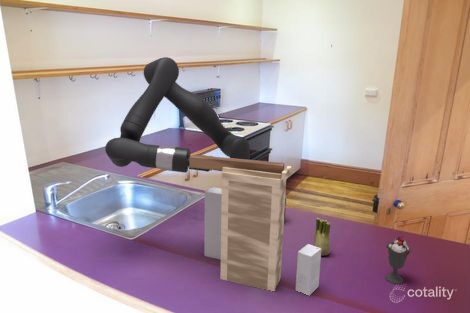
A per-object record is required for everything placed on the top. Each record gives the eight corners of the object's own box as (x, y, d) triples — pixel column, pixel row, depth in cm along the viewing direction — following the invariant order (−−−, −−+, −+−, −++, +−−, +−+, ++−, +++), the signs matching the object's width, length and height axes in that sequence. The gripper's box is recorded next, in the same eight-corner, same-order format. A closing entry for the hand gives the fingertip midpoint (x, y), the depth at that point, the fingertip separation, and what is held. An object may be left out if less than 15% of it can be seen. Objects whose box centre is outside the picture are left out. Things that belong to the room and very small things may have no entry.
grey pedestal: (211, 249, 119) (211, 186, 114) (233, 253, 116) (234, 190, 111) (204, 256, 115) (204, 191, 110) (227, 261, 112) (228, 195, 107)
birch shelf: (229, 267, 108) (231, 159, 101) (284, 279, 102) (291, 166, 95) (220, 278, 102) (221, 165, 94) (278, 293, 96) (285, 172, 88)
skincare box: (305, 281, 102) (308, 243, 99) (318, 287, 99) (322, 248, 97) (294, 290, 97) (297, 251, 95) (308, 297, 95) (311, 256, 92)
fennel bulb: (311, 249, 121) (314, 216, 118) (325, 249, 121) (328, 216, 118) (317, 258, 115) (319, 223, 112) (331, 257, 115) (334, 223, 113)
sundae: (395, 287, 100) (402, 239, 96) (377, 275, 106) (383, 229, 102) (412, 282, 102) (419, 235, 99) (393, 271, 108) (399, 225, 105)
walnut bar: (193, 164, 102) (193, 154, 101) (283, 173, 94) (284, 163, 94) (189, 167, 99) (189, 156, 98) (282, 176, 92) (282, 165, 91)
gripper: (170, 149, 101) (226, 156, 101) (178, 144, 115) (228, 150, 115) (167, 175, 102) (223, 182, 102) (176, 166, 116) (225, 172, 116)
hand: (225, 165), depth 108 cm, fingers open, 8 cm apart
